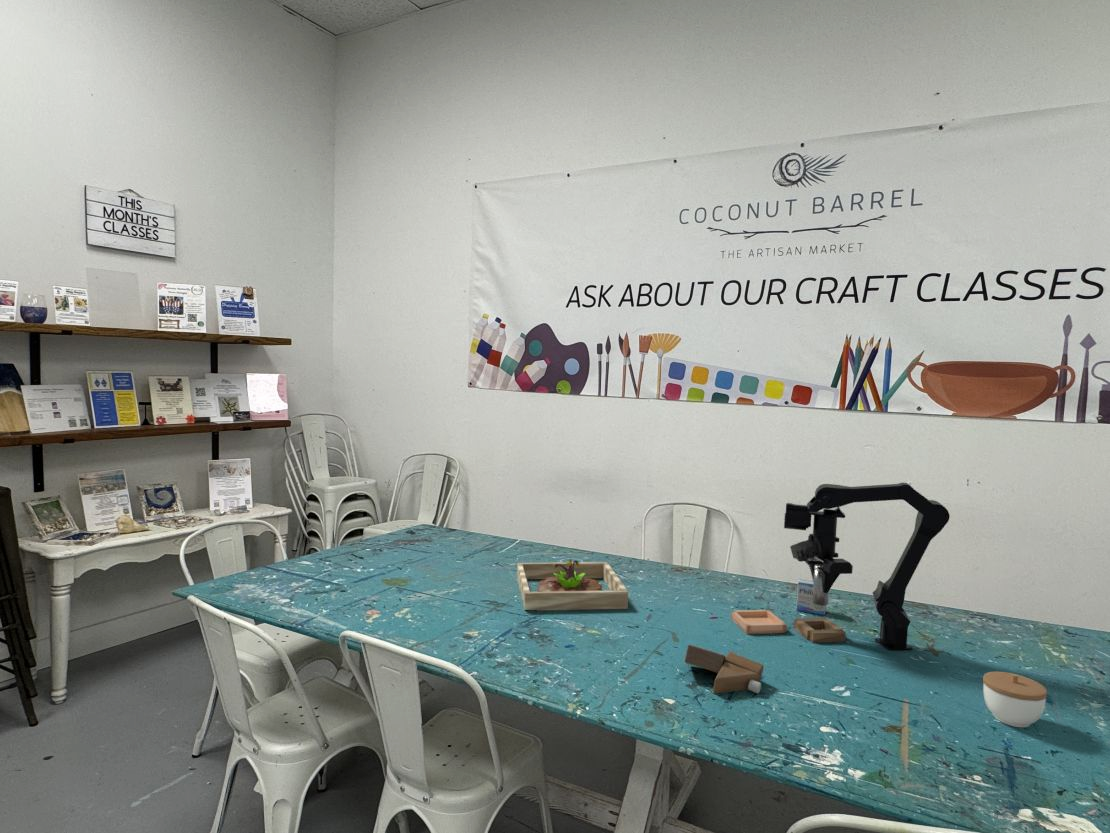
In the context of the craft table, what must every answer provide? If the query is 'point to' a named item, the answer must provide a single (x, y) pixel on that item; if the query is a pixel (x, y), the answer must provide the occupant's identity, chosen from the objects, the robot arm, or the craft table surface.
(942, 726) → the craft table surface
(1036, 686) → the lidded jar
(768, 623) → the terracotta tray
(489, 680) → the craft table surface
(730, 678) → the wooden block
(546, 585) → the plant
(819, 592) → the silver metal cylinder
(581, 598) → the birch planter frame
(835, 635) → the brown wooden square frame
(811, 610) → the medicine box
